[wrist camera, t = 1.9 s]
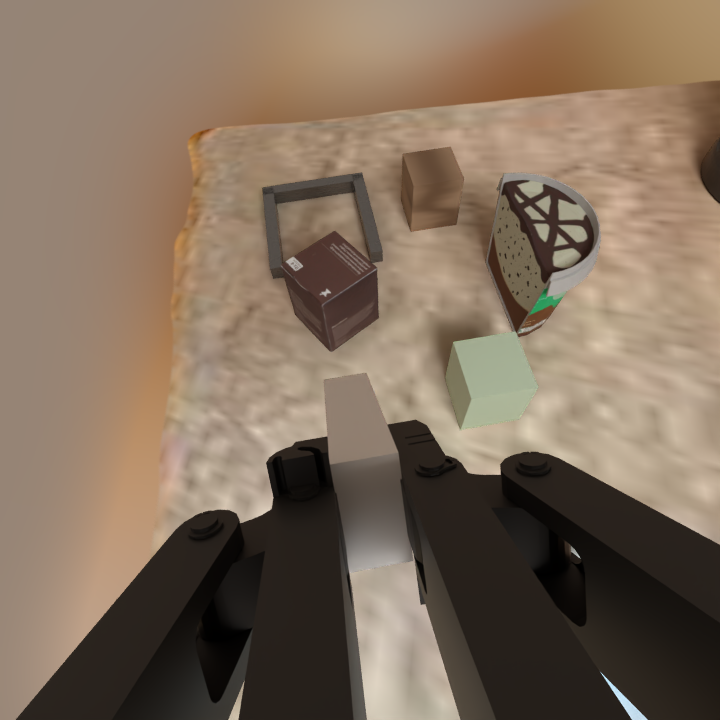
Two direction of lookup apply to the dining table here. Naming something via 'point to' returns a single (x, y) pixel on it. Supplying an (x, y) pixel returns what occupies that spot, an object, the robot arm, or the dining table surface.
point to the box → (332, 289)
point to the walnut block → (431, 188)
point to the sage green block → (489, 380)
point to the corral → (315, 190)
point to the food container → (539, 246)
